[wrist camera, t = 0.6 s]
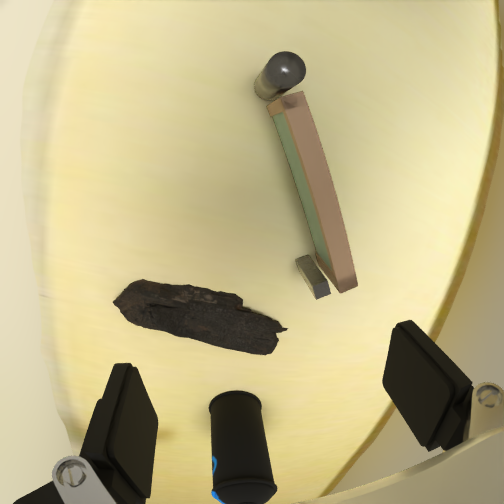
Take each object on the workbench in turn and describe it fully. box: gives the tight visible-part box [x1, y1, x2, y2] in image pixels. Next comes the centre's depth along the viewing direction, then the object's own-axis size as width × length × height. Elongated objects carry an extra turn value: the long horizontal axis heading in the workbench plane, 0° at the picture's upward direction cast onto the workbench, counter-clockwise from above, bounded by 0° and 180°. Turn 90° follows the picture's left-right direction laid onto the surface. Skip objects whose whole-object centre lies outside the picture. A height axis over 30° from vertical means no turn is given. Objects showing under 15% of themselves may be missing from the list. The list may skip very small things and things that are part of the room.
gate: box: [267, 91, 358, 293], centre depth 29 cm, size 2×19×7 cm, turn 20°
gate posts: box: [254, 51, 331, 300], centre depth 28 cm, size 3×23×9 cm, turn 14°
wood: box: [113, 279, 288, 355], centre depth 36 cm, size 22×7×3 cm, turn 69°
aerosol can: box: [209, 391, 277, 504], centre depth 35 cm, size 8×8×20 cm
